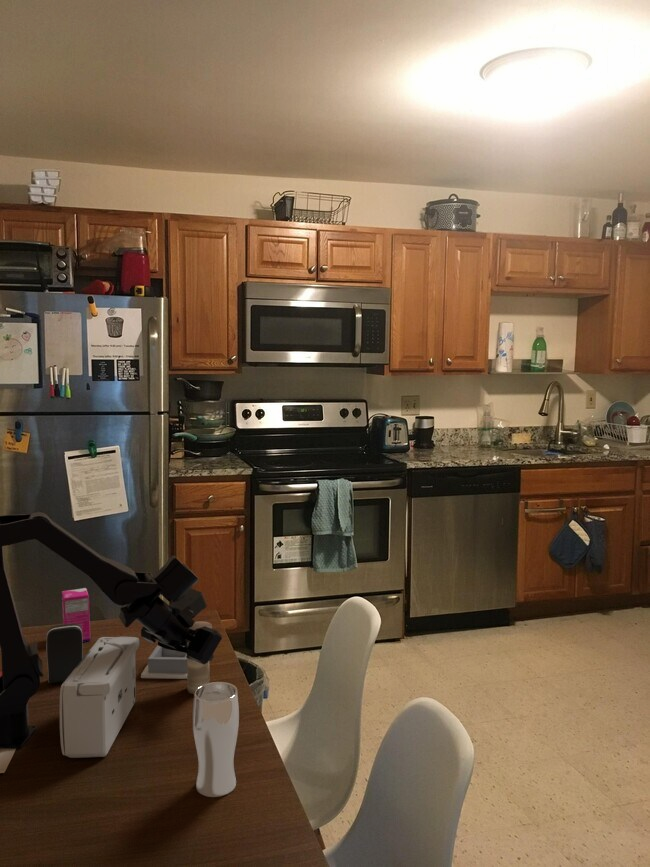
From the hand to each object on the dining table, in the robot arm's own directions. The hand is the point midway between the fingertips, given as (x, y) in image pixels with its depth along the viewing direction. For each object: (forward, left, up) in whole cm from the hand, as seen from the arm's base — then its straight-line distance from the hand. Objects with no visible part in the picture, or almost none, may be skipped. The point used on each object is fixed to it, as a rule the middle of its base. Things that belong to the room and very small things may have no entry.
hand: (203, 655), depth 135 cm
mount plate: (+8, +8, -7) cm, 14 cm away
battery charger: (+2, +29, -7) cm, 30 cm away
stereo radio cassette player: (-17, +14, -7) cm, 23 cm away
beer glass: (-33, -9, -7) cm, 34 cm away
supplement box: (+23, +35, -7) cm, 43 cm away
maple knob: (-1, +1, -7) cm, 7 cm away
